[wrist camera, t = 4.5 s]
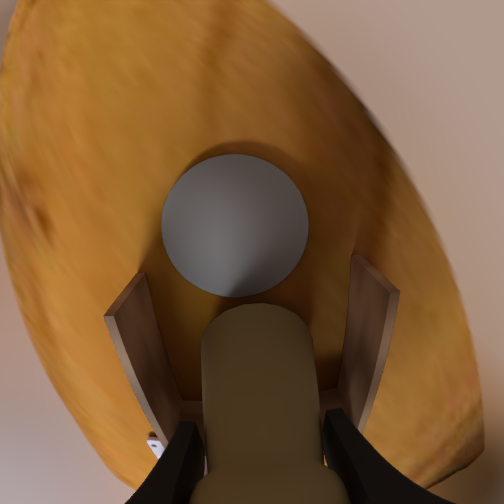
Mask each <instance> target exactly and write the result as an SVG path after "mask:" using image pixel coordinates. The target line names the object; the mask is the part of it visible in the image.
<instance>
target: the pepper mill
mask: <svg viewBox="0 0 504 504" xmlns="http://www.w3.org/2000/svg"><path fill="white" fill-rule="evenodd" d="M201 374H202V399H203V419H204V435H205V449H206V461H207V473H208V474H206V475H205V476H204V477H203V478H202V479H201V480H200V481H199V482H198V483H197V484H196V486H195V488H194V491H193V493H192V495H191V497H190V501H189V504H351V501H350V498H349V494H348V491H347V489H346V487H345V486H344V484H343V482H342V481H341V479H340V478H339V476H338V475H337V473H336V472H334V471H333V470H331V469H330V468H328V467H327V466H325V465H324V451H323V438H322V425H321V414H320V403H319V393H318V384H317V375H316V366H315V357H314V349H313V341H312V337H311V334H310V331H309V329H308V326H307V325H306V324H305V323H304V321H303V320H302V319H301V318H300V317H299V316H298V315H297V314H295V313H293V312H291V311H289V310H287V309H286V308H284V307H282V306H277V305H271V304H266V303H255V304H243V305H240V306H238V307H235V308H232V309H229V310H226V311H225V312H223V313H222V314H221V315H219V316H218V317H217V318H215V319H214V320H213V321H211V323H210V324H209V326H208V327H207V329H206V331H205V332H204V334H203V338H202V343H201Z"/></svg>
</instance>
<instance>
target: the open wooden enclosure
mask: <svg viewBox="0 0 504 504" xmlns="http://www.w3.org/2000/svg"><path fill="white" fill-rule="evenodd" d="M399 295H400V291H399V290H398V289H397V288H396V287H395V286H394V285H393V284H392V283H391V282H390V281H389V280H388V279H387V278H385V277H384V276H383V275H382V274H381V273H380V272H379V271H378V270H377V269H376V268H375V267H373V266H372V265H371V264H370V263H369V262H368V261H367V260H366V259H365V258H363V257H362V256H361V255H360V254H359V255H351V274H350V288H349V300H348V311H347V321H346V330H345V339H344V346H343V354H342V361H341V368H340V374H339V380H338V386H337V388H333V389H327V390H321V391H318V393H319V403H320V414H321V425H322V429H323V424H324V418H325V413H326V410H331V409H336V408H342V409H343V410H344V411H345V413H346V414H347V416H348V417H349V418H350V420H351V421H352V422H353V424H354V425H355V426H356V428H357V429H358V430H359V431H360V433H361V434H363V431H364V429H365V426H366V423H367V420H368V418H369V415H370V412H371V409H372V406H373V403H374V400H375V397H376V393H377V390H378V387H379V383H380V380H381V376H382V373H383V369H384V365H385V362H386V358H387V354H388V350H389V345H390V341H391V337H392V332H393V327H394V322H395V317H396V312H397V306H398V301H399ZM104 319H105V322H106V325H107V328H108V331H109V333H110V336H111V339H112V341H113V344H114V347H115V349H116V352H117V354H118V357H119V359H120V362H121V364H122V366H123V369H124V371H125V373H126V376H127V378H128V380H129V382H130V384H131V387H132V389H133V391H134V393H135V395H136V397H137V399H138V401H139V403H140V405H141V407H142V409H143V411H144V413H145V415H146V417H147V419H148V421H149V423H150V424H151V426H152V428H153V430H154V432H155V433H156V435H157V437H158V439H159V440H160V442H161V444H162V446H163V447H164V449H165V448H166V446H167V444H168V443H169V441H170V439H171V437H172V435H173V433H174V431H175V429H176V426H177V424H178V422H180V421H195V422H196V425H197V428H198V430H199V433H200V435H201V438H202V440H203V443H204V445H205V435H204V419H203V401H182V399H181V396H180V393H179V390H178V387H177V385H176V382H175V379H174V376H173V373H172V370H171V366H170V363H169V360H168V357H167V354H166V350H165V347H164V344H163V340H162V337H161V333H160V330H159V326H158V323H157V319H156V315H155V311H154V307H153V303H152V299H151V295H150V291H149V287H148V283H147V278H146V274H145V272H144V273H137V274H136V275H135V276H134V277H133V278H132V280H131V281H130V282H129V283H128V285H127V286H126V287H125V289H124V290H123V291H122V292H121V294H120V295H119V296H118V297H117V299H116V300H115V301H114V303H113V304H112V305H111V307H110V308H109V309H108V311H107V312H106V313H105V315H104ZM205 456H206V449H205Z"/></svg>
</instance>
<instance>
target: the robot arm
mask: <svg viewBox="0 0 504 504" xmlns="http://www.w3.org/2000/svg"><path fill="white" fill-rule="evenodd" d="M322 438H323V450H324V455H325V459H326V462H327V466H328V468H330V469H331V470H333V471H334V472H336V473H337V475H338V476H339V478H340V479H341V481H342V482H343V484H344V486H345V487H346V489H347V491H348V494H349V498H350V501H351V504H456V503H453V502H450V501H448V500H445V499H443V498H441V497H439V496H437V495H435V494H432V493H431V492H429V491H427V490H426V489H424V488H422V487H421V486H419V485H417V484H416V483H414V482H413V481H411V480H410V479H409V478H407V477H406V476H404V475H403V474H402V473H401V472H399V471H398V470H397V469H396V468H394V467H393V466H392V465H391V464H390V463H389V462H388V461H386V460H385V459H384V458H383V457H382V456H381V455H380V454H379V453H378V452H377V451H376V450H375V449H374V447H373V446H372V445H371V444H370V443H369V442H368V441H367V440H366V439H365V437H364V436H363V435H362V434H361V433H360V431H359V430H358V429H357V428H356V426H355V425H354V424H353V422H352V421H351V420H350V418H349V417H348V416H347V414H346V413H345V411H344V410H343V409H342V408H336V409H331V410H326V413H325V418H324V424H323V429H322ZM147 443H148V444H149V446H150V447H151V449H152V450H153V452H154V453H155V455H156V456H157V458H158V459H159V460H158V462H157V463H156V465H155V466H154V468H153V469H152V471H151V472H150V474H149V475H148V476H147V478H146V479H145V481H144V482H143V483H142V485H141V486H140V487H139V488H138V489H137V491H136V492H135V493H134V494H133V496H131V498H130V499H129V500H128V501H127V502H126V503H125V504H189V501H190V497H191V495H192V493H193V491H194V488H195V486H196V484H197V483H198V482H199V481H200V480H201V479H202V478H203V477H204V476H205V475H206V474H208V473H207V461H206V456H205V445H204V443H203V440H202V438H201V435H200V433H199V430H198V428H197V425H196V422H195V421H180V422H178V424H177V426H176V429H175V431H174V433H173V435H172V437H171V439H170V441H169V443H168V444H167V446H166V448H165V449H164V447H163V446H162V444H161V442H160V440H159V439H158V437H148V438H147Z"/></svg>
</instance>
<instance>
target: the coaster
mask: <svg viewBox="0 0 504 504" xmlns="http://www.w3.org/2000/svg"><path fill="white" fill-rule="evenodd" d="M308 229H309V222H308V213H307V209H306V205H305V202H304V200H303V197H302V195H301V193H300V191H299V190H298V188H297V186H296V185H295V184H294V182H293V181H292V180H291V179H290V178H289V177H288V176H287V175H286V174H285V173H284V172H283V171H282V170H280V169H279V168H278V167H276V166H275V165H273V164H271V163H269V162H268V161H265V160H263V159H260V158H257V157H253V156H249V155H242V154H227V155H221V156H216V157H213V158H209V159H207V160H205V161H202V162H200V163H198V164H197V165H195V166H194V167H192V168H190V169H189V170H188V171H187V172H186V173H185V174H183V175H182V176H181V177H180V179H179V180H178V181H177V182H176V183H175V185H174V186H173V188H172V189H171V191H170V193H169V195H168V197H167V199H166V202H165V205H164V208H163V213H162V221H161V230H162V238H163V243H164V246H165V249H166V252H167V254H168V256H169V258H170V260H171V262H172V263H173V265H174V266H175V268H176V269H177V270H178V271H179V273H180V274H181V275H182V276H183V277H184V278H186V279H187V280H188V281H189V282H190V283H192V284H193V285H195V286H196V287H198V288H200V289H202V290H204V291H206V292H209V293H212V294H215V295H220V296H226V297H244V296H251V295H255V294H258V293H261V292H264V291H266V290H268V289H270V288H272V287H274V286H275V285H277V284H278V283H280V282H281V281H282V280H283V279H285V278H286V277H287V276H288V275H289V274H290V273H291V271H292V270H293V269H294V268H295V267H296V265H297V263H298V262H299V260H300V258H301V256H302V254H303V252H304V249H305V246H306V243H307V238H308Z"/></svg>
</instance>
